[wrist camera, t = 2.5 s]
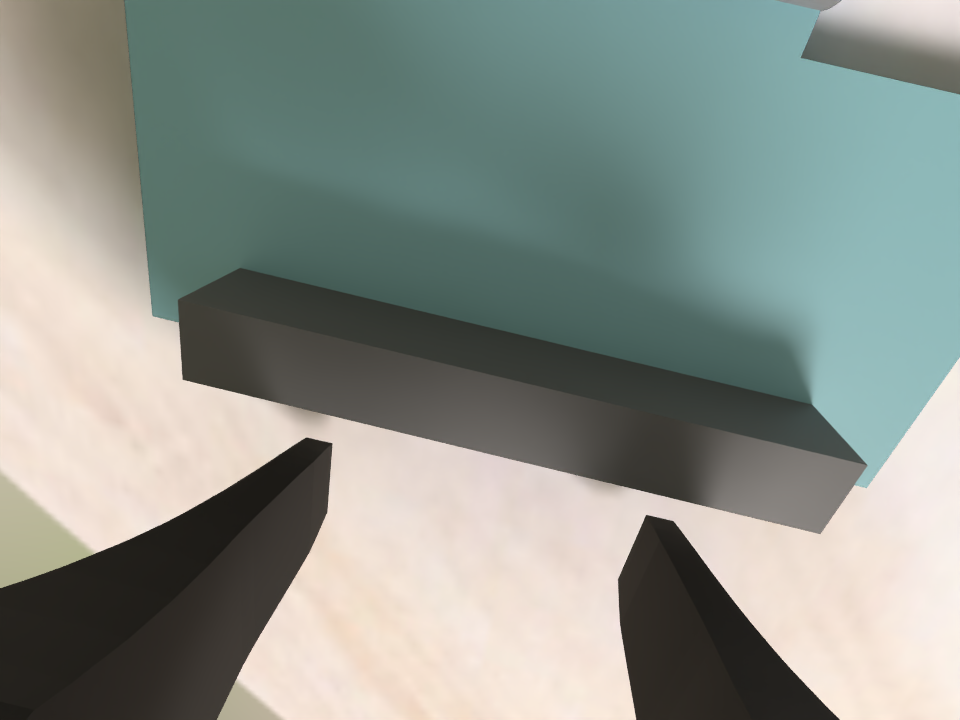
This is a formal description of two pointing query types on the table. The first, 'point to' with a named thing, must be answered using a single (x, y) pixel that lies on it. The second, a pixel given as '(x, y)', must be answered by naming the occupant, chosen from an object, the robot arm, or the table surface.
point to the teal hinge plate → (557, 232)
